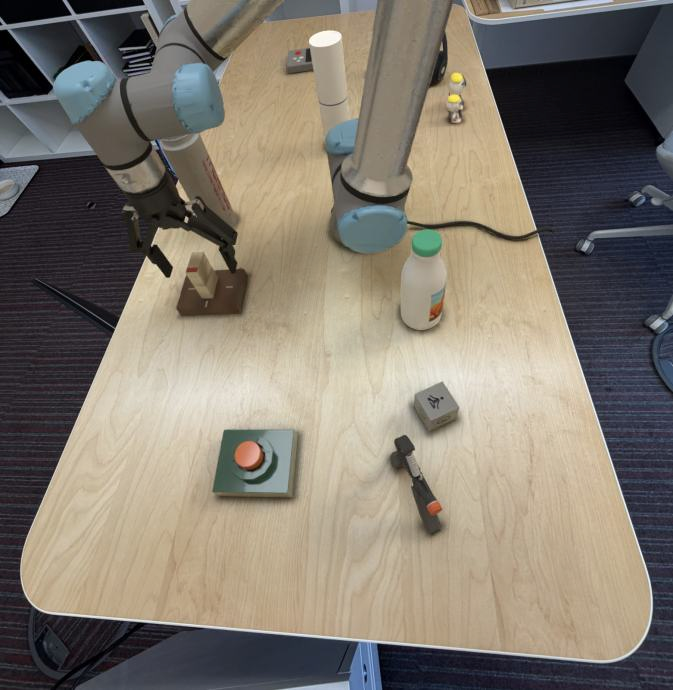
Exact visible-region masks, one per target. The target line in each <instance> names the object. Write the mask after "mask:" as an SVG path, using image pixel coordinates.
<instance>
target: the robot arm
mask: <svg viewBox="0 0 673 690" xmlns="http://www.w3.org/2000/svg"><path fill="white" fill-rule="evenodd" d="M454 1H455V0H377V1H376V6H375V13H374V19H373V24H372V25H373V26H372V31H371V38H370V45H369V50H368V58H367V64H366V68H365V69H366V70H365V76H364V82H363V89H362V95H361V101H360V107H359V114H358V118H353V119H350V120H348V121H345V122H342V123H340V124H338V125H337V126H335V127H333V128H332V129H331V130H330V131H329V132H328V133H327V136H326V139H325V138H324V143H325V142H326V144H325V147H324V148H325V149H324V151H325V152H326V156H327V161H328V169H329V176H330V182H331V190H332V197H333V206H332V208H331V210H330V214H331V216H330V218H329V219H330V221H329V225H330V231H331V235H332V237H333V239H334V240H335V241H336V242H337V244H339V245H340V246H342V247H344V248H346V249H350V250H351V251H353V252H356V253H360V254H376V253H382V252H385V251H387V250H388V249H391V248H393V247H395V246H396V245H398V244H399V243H400V242H401V241H402V240H403V239H404V238H405V236H406V233H407V230H408V225H410V226H415V227H419V228H424V229H435V228H436V229H437V228H444V227H450V226H458V225H459V226H460V225H469V226H474V227H478V228H481V229H484V230H485V231H488V232H489V233H491V234H493V235H495V236H498V237H501V238H504V239H506V240H507V239H508V240H517V241H518V240H523V239H527V238H530V237H532V236H535V235H537V234H540V233H541V232H550V233H552V234H553V233H555V232H556V230H555V229H554V228H553V227H550V226H545V227H540V228H537V229H535V230H533V231H531V232H528V233H526V234H522V235H509V234H505V233H502V232H500V231H497V230H495V229H493V228H491V227H489V226H487V225H485V224H482V223H479V222H475V221H468V220H458V221H450V222H444V223H437V224H429V223H428V224H426V223H420V222H416V221H410V220H408V216H407V214H406V213H405V208H406V204H407V199H408V197H409V193H410V189H411V185H412V183H413V179H414V178H413V172H412V169H411V168H410V166H409V165H408V162H409V160H410V159H409V158H410V155H411V151H412V148H413V144H414V142H415V137H416V135H417V130H418V128H419V123H420V119H421V117H422V113H423V109H424V106H425V102H426V99H427V95H428V93H429V89H430V85H431V84H430V82H431V78H432V75H433V71H434V68H435V64H436V61H437V57H438V54H439V50H440V49H441V46H442V40H443V36H444V33H446V30H447V25H448V22H449V18H450V15H451V12H452V8H453V4H454ZM284 2H285V0H190V1H189V2H188V3H187V4H186V6H185V7H184V9H182V10H181V11H180V13H176V14H173V15H171V16H170V17H169V18H168V19H167V20H166V21H165V24H164V25H163V26H162V28H161V29H160V31H159V35H158V38H157V46H156V50H155V54H154V57H153V60H152V65H151V68H150V72H147V73H144V74H140V75H136V76H131V77H121V78H117V77H116V76H115V73H113V72H112V71H111V69H110V68H109V67H108V65H107V64H105V63H104V62H102V61H99V60H94V61H92V60H85V61H84V60H83V61H80V62H78V63H75V64H72V65H70V66H69V67H67V68H65V69H63V70H62V71H61V72H60V73H59V74H58V75H57V76H56V78H55V80H54V82H53V84H52V85H53V87H52V89H53V93H54V96H55V97H56V99H57V100H58V102H59V103H60V105H61V107H62V109H63V110H64V112H65V113H66V115H67V116H68V118H69V120H70V122H71V124H72V125H73V126H75V128H76V129H77V131H78V132H79V133H80V134H81V135H82V137H83V138H84V140H85V141H86V143H87V144H88V145H89V146H90V148H91V150H92V151H93V152H94V153H95V155H96V156H97V158H98V159H99V161H100V163H102V165H103V167H104V168H105V169H106V171H107V173H108V174H109V175H110V177H111V178H112V179H113V181H114V182H115V184H116V185H117V186H118V188H119V189H120V190H121V191H122V193H123V195H124V197H125V198H126V200H127V201H128V202H126V203H125V204H124V206H123V208H122V210H121V213H120V215H121V218H122V219H123V221H124V222H125V225H126V232H127V238H128V245H129V249H130V252H131V253H134V254H137V253H138V252H140V253H141V254H143V255H144V256H146V258H147V259H148V260H149V261H150V263H151V264H153V265H156V266H157V268H158V269H159V270H160V272H161V273H162V274H163V276H164V277H165V278H166V279H170V278H171V276H172V272H173V269H174V266H173V264H172V263H171V262H170V261H169V259H168V258H167V256H166V255H165V254H164V253H163V251H162V250H161V248H160V247H159V245H158V244H153V241H154V238H155V235H156V232H157V230H158V228H159V229H162V231H164V230H165V231H166V230H170V229H174V230H175V229H182V230H184V231H186V232H190V231H191V232H193V233H194V234H196V235H198V236H200V237H201V238H203V239H205V240H207V241H209V242H210V243H212V244H215V245H216V246H217V247H218V252H219V254H220V255H221V258H222V259H223V261H224V263H225V264H226V267H227V268H228V269H229V270H230V272H231V274H234V273H235V272H236V269H237V267H238V261H237V259H236V248H235V247H234V246H235V245H237V240H238V236H239V232H238V231H237V230H235V229H234V228H232V227H231V226H230V225H228V224H227V223H226V222H225V221H224V220H222V219H221V218H220V217H219V216H218V215H217V214H215V213H214V212H213V211H212V210H211V209H210V208H208V207H207V206H206V204H205V203H204V201H203V200H202V198H201V197H199V196H195V198H194V200H193V201H190V200H187V201H185V200H184V199H183V198H182V197H181V196H180V193H179V189H178V188H177V186H176V184H175V182H174V180H173V179H172V177H171V175H170V173H169V172H168V170H167V169H166V167H165V164H164V163H163V161H162V159H161V157H160V156H159V154H158V152H157V150H156V148H155V147H154V145H153V144H152V142H154V141H158V140H159V141H160V140H161V139H164V138H170V137H176V136H181V135H187V134H193V133H195V134H196V133H200V134H201V133H203V132H205V131H208V130H212V129H215V128H219V127H220V126H222V124H223V123H224V122H225V119H226V118H225V116H226V111H225V107H224V106H225V105H224V99H223V94H222V91H221V88H220V85H219V82H218V79H217V76H216V75H215V73H214V72H215V71H216V70H217V69H219V67H220V66H222V65H223V63H224V62H225V61H226V60H227V59H228V58H229V56H230V55H232V53H234V52H235V51H236V49H237V48H239V46H241V45H242V44H243V43H244V41H246V40H247V39H248V38H249V37H250V35H252V33H253V32H255V31H256V29H258V27H260V25H262V24H263V23H264V21H266V20H267V19H268V18H269V17H270V16H271V15H272V13H273V12H274V11H276V9H278V7H280V5H282V3H284ZM440 51H441V50H440ZM139 217H140V218H141V219H143V220H145V221H146V222H148V223H149V224H148V227H147V230H146V234H145V238H144V239H143V240H144V241H142V240H141V230H140V223H139V222H140V221H139ZM186 218H187V222H186V221H185V220H186Z"/></svg>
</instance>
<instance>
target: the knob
mask: <svg viewBox="0 0 673 690" xmlns="http://www.w3.org/2000/svg"><path fill="white" fill-rule="evenodd" d="M214 270H215V269H214V268H213V266H212V264H211V262H210V260H209V259H208V257H207V254H206V253H205V251H203V250H202V251H201V250H200V251H191V254H190V257H189V260H188V263H187V267H186V270H185V276H186V275H187V276H188V278H189V279H190V281H191V282H192V284H193V285H194V287H195V288H196V290H197V291H198V293H199V294H200V296H201V297H202V299H209V298H213V297H214V293H215V289H216V285H217V281H218V276H217V274H216V273H215V271H214Z"/></svg>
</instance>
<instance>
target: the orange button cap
mask: <svg viewBox="0 0 673 690" xmlns="http://www.w3.org/2000/svg"><path fill="white" fill-rule="evenodd" d="M263 458H264V453H263V450H262V449H261V448H260V447H259V445H258V444H257V443H255V442H253V441H246V442H243V443H241V444H240V445H239V446H238V447H237V449H236V451H235V460H236V462H237V464H238V465H240V466H241V467H242V468H243V469H245V470H253V469H256V468H257V467H259V466H260V464H261V463H262V461H263Z"/></svg>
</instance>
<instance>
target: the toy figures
mask: <svg viewBox="0 0 673 690" xmlns="http://www.w3.org/2000/svg"><path fill="white" fill-rule="evenodd" d="M449 79H450V80H449V84H448V89H449V91H448V97H447V101H446V109H447V112H448V118H449V120H450V123H452V124H460V123H461V122H462V117H463V114H462V110H463V109H464V103H465V102H464V99H463V97H462V95H461V94H462V93H463V91H464V88H465V87H467V80H466V78H465V75H464V74H461V73H460V72H453V73H452V74H451V75H450V77H449Z"/></svg>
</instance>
